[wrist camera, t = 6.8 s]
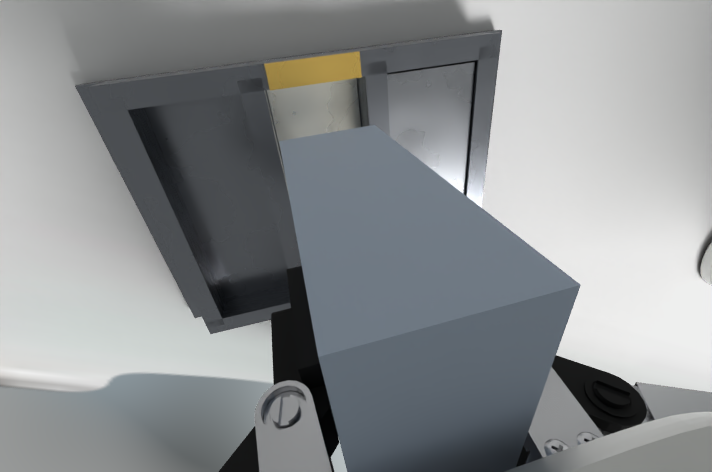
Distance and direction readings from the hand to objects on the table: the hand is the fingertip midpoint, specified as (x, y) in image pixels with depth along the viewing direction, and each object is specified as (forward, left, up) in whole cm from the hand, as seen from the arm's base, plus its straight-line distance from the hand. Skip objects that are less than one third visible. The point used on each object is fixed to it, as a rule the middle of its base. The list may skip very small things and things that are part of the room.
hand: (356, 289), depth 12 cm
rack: (0, 0, -10) cm, 10 cm away
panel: (0, 0, -2) cm, 2 cm away
